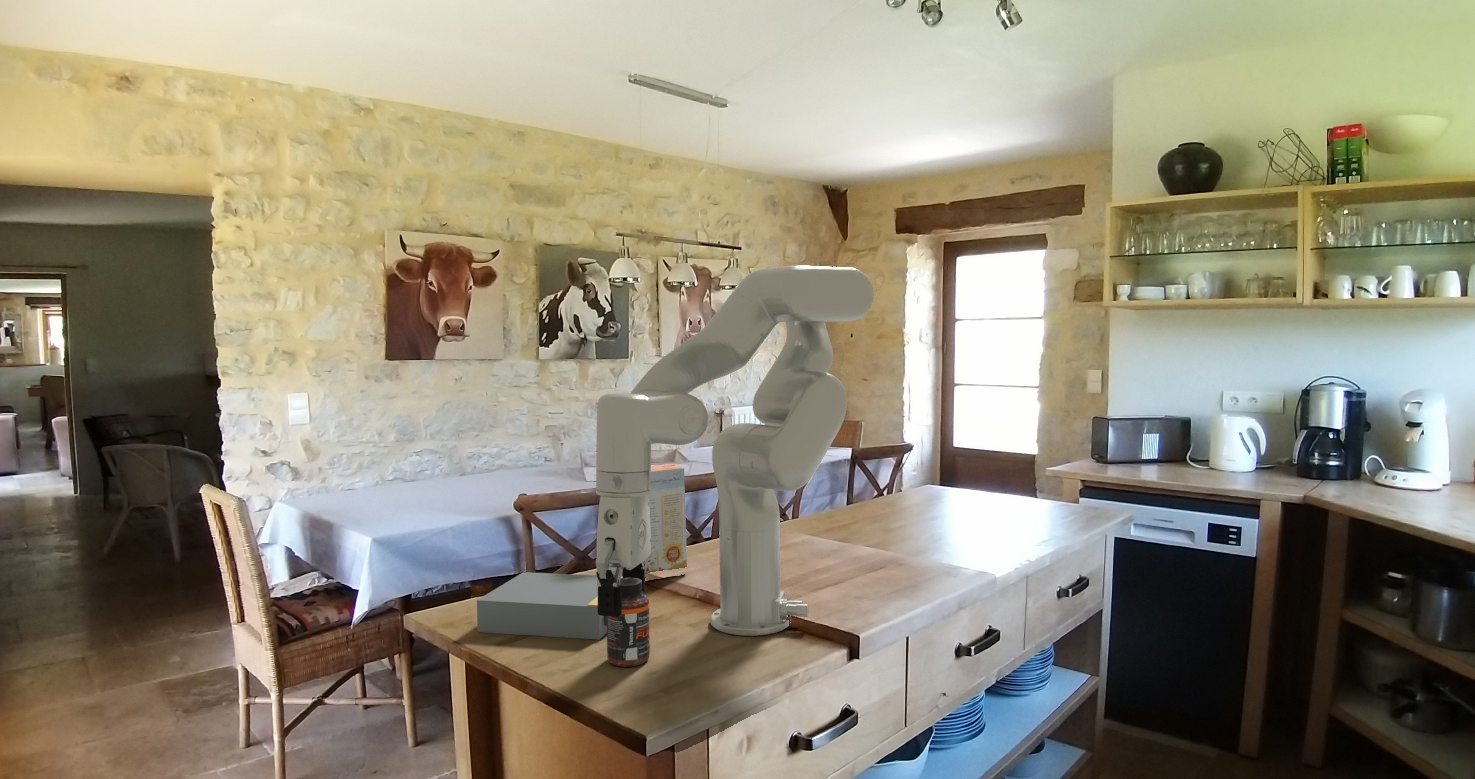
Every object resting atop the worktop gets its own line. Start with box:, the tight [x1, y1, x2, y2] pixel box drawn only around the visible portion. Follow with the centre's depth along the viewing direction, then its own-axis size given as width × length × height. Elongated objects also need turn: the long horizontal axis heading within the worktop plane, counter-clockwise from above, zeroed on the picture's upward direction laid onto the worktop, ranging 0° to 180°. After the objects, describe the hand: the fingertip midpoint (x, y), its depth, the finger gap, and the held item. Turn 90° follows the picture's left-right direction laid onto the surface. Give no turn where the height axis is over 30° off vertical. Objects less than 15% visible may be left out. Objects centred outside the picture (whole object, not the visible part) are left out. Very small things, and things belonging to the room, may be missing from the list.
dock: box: [476, 571, 622, 641], centre depth 135 cm, size 21×16×5 cm
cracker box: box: [612, 464, 688, 578], centre depth 158 cm, size 14×6×21 cm, turn 120°
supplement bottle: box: [606, 578, 651, 668], centre depth 117 cm, size 6×6×11 cm
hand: (621, 605), depth 116 cm, fingers open, 9 cm apart
